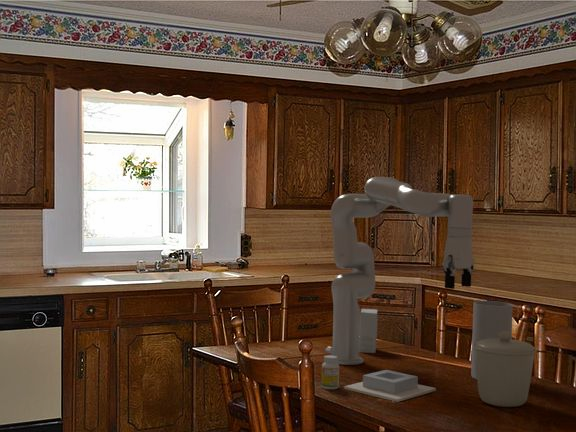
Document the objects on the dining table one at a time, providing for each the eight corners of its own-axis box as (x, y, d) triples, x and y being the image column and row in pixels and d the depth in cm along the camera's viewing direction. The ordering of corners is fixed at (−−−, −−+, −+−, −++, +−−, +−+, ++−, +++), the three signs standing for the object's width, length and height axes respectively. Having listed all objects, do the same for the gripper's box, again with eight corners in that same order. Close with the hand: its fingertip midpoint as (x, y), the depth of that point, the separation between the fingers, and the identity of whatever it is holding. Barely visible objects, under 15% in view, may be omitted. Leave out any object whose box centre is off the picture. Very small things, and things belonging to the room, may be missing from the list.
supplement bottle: (335, 390, 240) (336, 359, 240) (318, 388, 242) (319, 357, 242) (340, 386, 245) (341, 355, 245) (324, 384, 247) (325, 354, 247)
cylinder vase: (477, 372, 270) (479, 299, 269) (514, 377, 264) (516, 303, 263) (466, 379, 259) (468, 303, 258) (504, 385, 253) (507, 307, 252)
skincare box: (359, 348, 308) (360, 308, 307) (376, 349, 307) (378, 309, 306) (358, 352, 299) (359, 311, 299) (376, 353, 298) (377, 312, 298)
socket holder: (344, 388, 243) (344, 374, 242) (383, 378, 257) (383, 365, 257) (397, 401, 229) (397, 387, 229) (435, 390, 243) (436, 376, 243)
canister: (497, 413, 219) (500, 338, 218) (458, 397, 236) (460, 327, 235) (548, 408, 226) (551, 335, 226) (507, 393, 243) (509, 324, 242)
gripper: (463, 232, 259) (462, 284, 259) (434, 233, 246) (432, 288, 247) (484, 233, 253) (482, 286, 254) (455, 234, 241) (453, 290, 241)
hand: (457, 287), depth 250 cm, fingers open, 9 cm apart
